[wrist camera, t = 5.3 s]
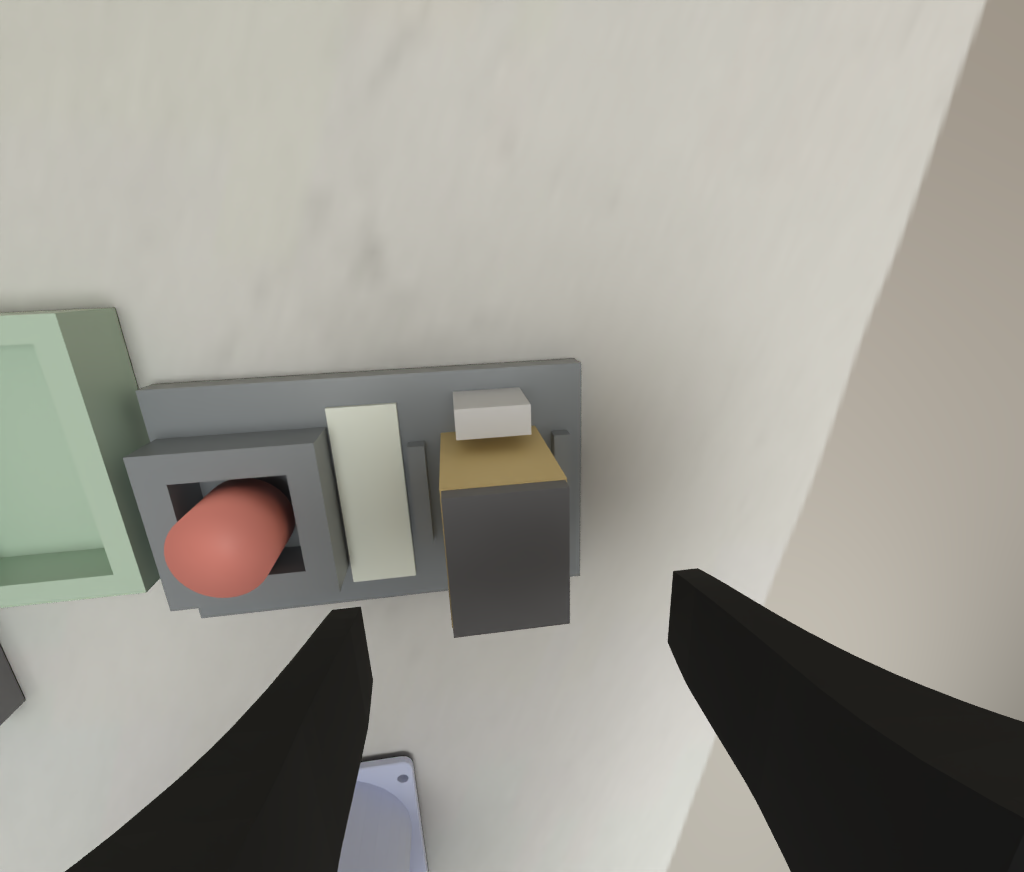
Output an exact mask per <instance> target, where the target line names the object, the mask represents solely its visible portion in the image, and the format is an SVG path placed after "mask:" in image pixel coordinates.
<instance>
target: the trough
mask: <svg viewBox="0 0 1024 872" xmlns="http://www.w3.org/2000/svg"><path fill="white" fill-rule="evenodd" d="M135 390H138V387H137V383H136V380H135V376H134V373H133V370H132V366H131V363H130V359H129V356H128V352H127V349H126V345H125V342H124V338H123V335H122V331H121V328H120V324H119V321H118V317H117V314H116V311H115V308H97V309H74V310H52V311H29V312H7V313H0V608H5V607H15V606H24V605H33V604H43V603H52V602H62V601H71V600H81V599H90V598H99V597H109V596H118V595H128V594H137V593H146V592H147V591H148V590H149V589H150V588H151V587H152V586H153V585H154V584H155V583H156V582H157V581H158V580H159V579H160V575H159V572H158V569H157V566H156V563H155V559H154V556H153V553H152V550H151V547H150V543H149V540H148V537H147V534H146V531H145V527H144V524H143V521H142V518H141V515H140V512H139V508H138V505H137V502H136V499H135V496H134V492H133V489H132V486H131V483H130V480H129V476H128V473H127V470H126V467H125V464H124V460H123V457H125V456H127V455H129V454H130V453H132V452H134V451H136V450H137V449H139V448H141V447H143V446H145V445H146V444H148V443H150V440H149V436H148V433H147V429H146V426H145V422H144V419H143V416H142V412H141V409H140V405H139V402H138V398H137V395H136V391H135Z"/></svg>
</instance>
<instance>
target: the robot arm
mask: <svg viewBox="0 0 1024 872" xmlns="http://www.w3.org/2000/svg"><path fill="white" fill-rule="evenodd" d="M668 644H669V646H670V648H671V651H672V653H673V655H674V658H675V660H676V662H677V665H678V667H679V669H680V671H681V673H682V675H683V678H684V680H685V682H686V684H687V686H688V687H689V689H690V691H691V693H692V694H693V696H694V698H695V699H696V701H697V703H698V704H699V706H700V708H701V709H702V711H703V713H704V714H705V716H706V718H707V719H708V721H709V723H710V724H711V726H712V728H713V729H714V731H715V733H716V734H717V736H718V737H719V739H720V741H721V742H722V744H723V746H724V747H725V749H726V751H727V752H728V754H729V755H730V757H731V759H732V760H733V762H734V764H735V765H736V767H737V769H738V770H739V772H740V773H741V775H742V777H743V778H744V780H745V782H746V784H747V785H748V787H749V789H750V791H751V793H752V795H753V796H754V798H755V800H756V802H757V804H758V805H759V807H760V809H761V811H762V814H763V816H764V818H765V820H766V822H767V824H768V826H769V828H770V829H771V832H772V834H773V836H774V838H775V840H776V842H777V844H778V846H779V848H780V850H781V852H782V854H783V856H784V858H785V860H786V862H787V864H788V866H789V869H790V871H791V872H1024V722H1022V721H1019V720H1015V719H1013V718H1010V717H1007V716H1004V715H1001V714H998V713H995V712H992V711H989V710H986V709H983V708H980V707H978V706H975V705H972V704H969V703H967V702H964V701H961V700H958V699H956V698H953V697H951V696H948V695H946V694H943V693H941V692H938V691H935V690H933V689H930V688H928V687H925V686H922V685H920V684H918V683H915V682H913V681H910V680H908V679H906V678H903V677H901V676H898V675H896V674H894V673H891V672H889V671H887V670H885V669H882V668H881V667H878V666H876V665H874V664H872V663H869V662H867V661H865V660H863V659H861V658H859V657H856V656H854V655H852V654H850V653H848V652H846V651H844V650H842V649H840V648H838V647H836V646H834V645H832V644H830V643H828V642H826V641H824V640H823V639H821V638H819V637H817V636H815V635H813V634H811V633H809V632H807V631H806V630H804V629H802V628H800V627H798V626H796V625H795V624H793V623H791V622H789V621H787V620H786V619H784V618H782V617H780V616H779V615H777V614H775V613H774V612H771V611H770V610H768V609H767V608H765V607H763V606H762V605H760V604H758V603H757V602H755V601H753V600H752V599H750V598H748V597H747V596H745V595H743V594H742V593H740V592H738V591H737V590H735V589H733V588H732V587H730V586H728V585H727V584H725V583H723V582H721V581H720V580H718V579H716V578H715V577H713V576H711V575H709V574H707V573H706V572H704V571H702V570H700V569H698V568H697V569H688V570H680V571H673V581H672V594H671V606H670V619H669V632H668ZM372 685H373V678H372V672H371V666H370V660H369V654H368V648H367V642H366V635H365V629H364V623H363V617H362V611H361V607H354V608H346V609H337V610H332V611H331V612H330V613H329V614H328V615H327V617H326V618H325V619H324V620H323V622H322V623H321V624H320V625H319V627H318V628H317V629H316V630H315V632H314V633H313V634H312V635H311V637H310V638H309V639H308V640H307V642H306V643H305V644H304V645H303V647H302V648H301V649H300V650H299V652H298V653H297V654H296V655H295V657H294V658H293V659H292V660H291V661H290V663H289V664H288V665H287V666H286V667H285V668H284V670H283V671H282V672H281V673H280V674H279V676H278V677H277V678H276V679H275V680H274V682H273V683H272V684H271V685H270V686H269V687H268V689H267V690H266V691H265V692H264V693H263V694H262V695H261V696H260V697H259V699H258V700H257V701H256V702H255V703H254V704H253V705H252V706H251V707H250V708H249V709H248V710H247V712H246V713H245V714H244V715H243V716H242V717H241V718H240V719H239V720H238V721H237V722H236V724H235V725H234V726H233V727H232V728H231V729H230V730H229V731H228V732H227V733H226V734H225V735H224V736H223V737H222V738H221V739H220V740H219V741H218V742H217V743H216V744H215V745H214V746H213V747H212V748H211V749H210V750H209V751H208V752H207V753H206V754H204V755H203V756H202V757H201V758H200V759H199V760H198V761H197V762H196V763H195V764H194V765H193V766H192V767H191V768H190V769H189V770H187V771H186V772H185V773H184V774H183V775H182V776H181V777H180V778H179V779H178V780H176V781H175V782H174V783H173V784H172V785H171V786H170V787H168V788H167V789H166V790H165V791H164V792H162V793H161V794H160V795H159V796H158V797H157V798H155V799H154V800H153V801H152V802H151V803H149V804H148V805H147V806H146V807H145V808H144V809H142V810H141V811H140V812H139V813H138V814H137V815H135V816H134V817H133V818H132V819H131V820H129V821H128V822H127V823H126V824H125V825H124V826H122V827H121V828H120V829H119V830H118V831H116V832H115V833H114V834H113V835H111V836H110V837H109V838H108V839H106V840H105V841H104V842H103V843H101V844H100V845H99V846H97V847H96V848H95V849H94V850H92V851H91V852H90V853H88V854H87V855H86V856H85V857H83V858H82V859H81V860H80V861H78V862H77V863H76V864H74V865H73V866H72V867H70V868H69V869H68V870H66V871H65V872H428V867H427V860H426V852H425V845H424V838H423V831H422V824H421V817H420V810H419V803H418V795H417V788H416V781H415V774H414V767H413V762H412V760H411V759H410V758H409V757H406V756H399V757H392V758H386V759H379V760H372V761H366V762H361V758H362V754H363V749H364V744H365V740H366V735H367V730H368V723H369V714H370V705H371V695H372Z"/></svg>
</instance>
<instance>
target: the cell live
mask: <svg viewBox="0 0 1024 872" xmlns="http://www.w3.org/2000/svg"><path fill="white" fill-rule="evenodd" d="M439 493H440V503H441V514H442V525H443V535H444V546H445V556H446V567H447V578H448V588H449V599H450V610H451V620H452V628H453V632H454V638H456V637H464V636H472V635H480V634H488V633H497V632H505V631H513V630H521V629H529V628H537V627H545V626H553V625H561V624H569V623H570V487H569V485H568V484H567V477H566V476H565V474H564V472H563V471H562V469H561V467H560V466H559V464H558V462H557V461H556V459H555V458H554V456H553V454H552V453H551V451H550V449H549V448H548V446H547V444H546V443H545V441H544V439H543V438H542V436H541V435H540V433H539V431H538V430H537V428H536V426H531V435H520V436H507V437H494V438H481V439H469V440H456V432H445V433H441V437H440V476H439Z"/></svg>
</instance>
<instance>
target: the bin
mask: <svg viewBox="0 0 1024 872" xmlns="http://www.w3.org/2000/svg"><path fill="white" fill-rule="evenodd" d="M24 701H25V699H24V696H23V694H22V692H21V690H20V688H19V686H18V683H17V681H16V679H15V677H14V675H13V672H12V670H11V668H10V666H9V664H8V662H7V659H6V657H5V655H4V653H3V651H2V648H1V646H0V725H1V724H2V723H3V722H4V721H5V720H6V719H7V718H8V717H9V716H10V715H11V714H12V713H13V712H14V711H15V710H16V709H17V708H18V707H19V706H20V705H21V704H22V703H23V702H24Z"/></svg>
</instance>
